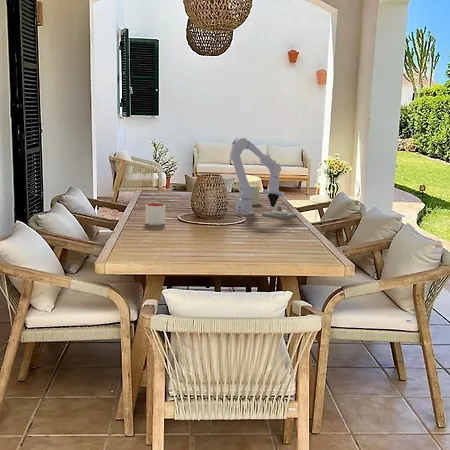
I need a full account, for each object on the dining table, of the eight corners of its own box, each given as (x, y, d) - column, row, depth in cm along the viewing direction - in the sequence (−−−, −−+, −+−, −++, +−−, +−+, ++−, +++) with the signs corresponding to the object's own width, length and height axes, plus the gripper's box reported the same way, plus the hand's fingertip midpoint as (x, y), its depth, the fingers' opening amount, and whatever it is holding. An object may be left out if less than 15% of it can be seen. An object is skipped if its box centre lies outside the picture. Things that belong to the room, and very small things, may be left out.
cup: (141, 224, 309) (141, 205, 307) (152, 221, 318) (153, 202, 316) (157, 226, 305) (158, 207, 303) (168, 223, 313) (169, 204, 311)
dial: (288, 214, 344) (288, 208, 344) (272, 214, 344) (272, 208, 343) (285, 211, 355) (285, 205, 354) (270, 211, 355) (270, 205, 354)
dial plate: (281, 219, 339) (281, 216, 339) (262, 215, 348) (262, 212, 348) (296, 216, 349) (296, 213, 349) (277, 213, 358) (277, 210, 358)
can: (259, 205, 386) (260, 186, 383) (244, 204, 386) (245, 185, 384) (258, 202, 395) (259, 184, 393) (244, 202, 395) (245, 183, 393)
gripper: (288, 184, 351) (286, 207, 354) (268, 181, 361) (267, 204, 363) (280, 185, 346) (279, 208, 349) (261, 182, 355) (259, 205, 358)
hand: (272, 206), depth 356 cm, fingers closed
